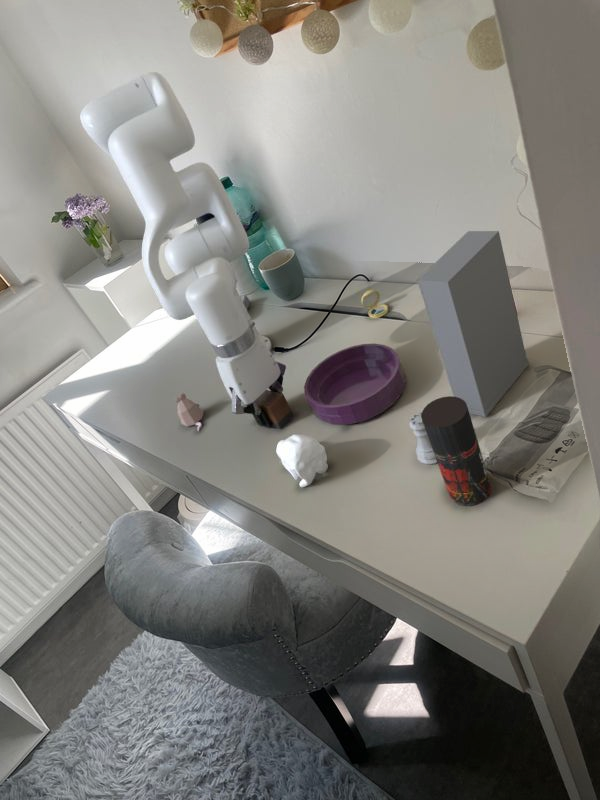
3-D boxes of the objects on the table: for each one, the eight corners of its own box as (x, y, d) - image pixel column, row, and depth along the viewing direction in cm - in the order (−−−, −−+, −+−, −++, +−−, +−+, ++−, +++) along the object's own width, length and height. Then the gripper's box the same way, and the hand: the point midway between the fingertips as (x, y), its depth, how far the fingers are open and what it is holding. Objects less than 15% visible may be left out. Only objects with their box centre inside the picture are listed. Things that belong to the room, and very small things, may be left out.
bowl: (295, 416, 117) (285, 396, 114) (351, 358, 125) (343, 338, 123) (368, 437, 104) (358, 415, 101) (425, 371, 112) (418, 349, 110)
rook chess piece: (440, 467, 92) (426, 429, 88) (413, 464, 95) (398, 426, 91) (450, 446, 95) (437, 408, 91) (423, 444, 98) (410, 406, 93)
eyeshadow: (374, 320, 133) (367, 301, 131) (364, 313, 138) (357, 294, 135) (391, 310, 134) (385, 291, 131) (381, 303, 138) (374, 285, 135)
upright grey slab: (496, 359, 107) (464, 230, 93) (529, 365, 103) (500, 230, 89) (453, 410, 101) (411, 280, 88) (485, 418, 97) (447, 282, 83)
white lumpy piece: (287, 457, 94) (254, 435, 104) (310, 496, 98) (276, 471, 108) (319, 432, 96) (282, 413, 106) (340, 472, 100) (303, 449, 110)
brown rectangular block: (257, 421, 121) (245, 400, 118) (270, 408, 122) (259, 387, 119) (280, 429, 116) (269, 407, 113) (294, 415, 117) (283, 393, 114)
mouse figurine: (188, 437, 126) (172, 413, 122) (180, 419, 132) (165, 396, 129) (210, 425, 126) (194, 400, 123) (201, 407, 133) (187, 384, 129)
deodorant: (443, 483, 90) (416, 406, 82) (482, 469, 89) (459, 390, 81) (456, 511, 85) (428, 433, 77) (497, 497, 84) (473, 416, 76)
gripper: (252, 312, 115) (289, 386, 125) (188, 367, 108) (233, 441, 118) (278, 315, 110) (315, 393, 120) (213, 373, 102) (258, 451, 112)
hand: (274, 416), depth 119 cm, fingers open, 4 cm apart
